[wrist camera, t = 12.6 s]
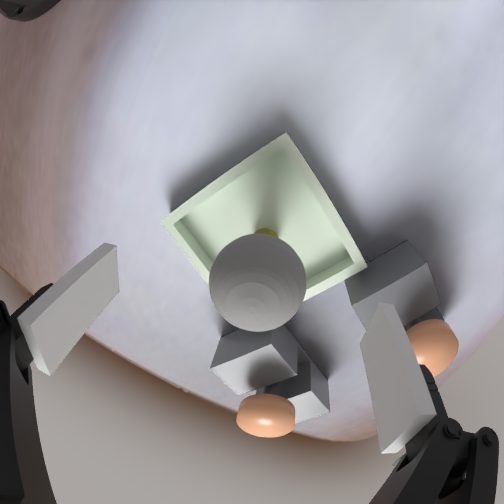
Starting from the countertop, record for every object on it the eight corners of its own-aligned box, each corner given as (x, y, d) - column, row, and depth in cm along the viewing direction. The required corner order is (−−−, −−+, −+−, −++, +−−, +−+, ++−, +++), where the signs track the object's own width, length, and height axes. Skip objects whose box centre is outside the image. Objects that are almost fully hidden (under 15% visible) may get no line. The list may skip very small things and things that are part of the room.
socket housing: (220, 337, 29) (209, 368, 25) (407, 240, 22) (427, 262, 18) (278, 398, 32) (275, 428, 27) (438, 326, 25) (454, 354, 21)
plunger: (235, 371, 27) (225, 415, 22) (279, 354, 26) (274, 401, 21) (263, 399, 29) (257, 441, 24) (305, 385, 27) (305, 429, 22)
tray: (170, 213, 24) (159, 221, 22) (286, 132, 20) (286, 132, 18) (248, 315, 27) (245, 329, 25) (362, 255, 23) (367, 266, 21)
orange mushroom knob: (374, 309, 23) (390, 353, 18) (425, 280, 21) (452, 319, 16) (393, 346, 24) (407, 389, 19) (439, 321, 22) (462, 360, 17)
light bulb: (291, 275, 24) (291, 360, 15) (227, 260, 24) (193, 337, 15) (309, 213, 22) (323, 274, 13) (239, 197, 22) (204, 246, 13)
